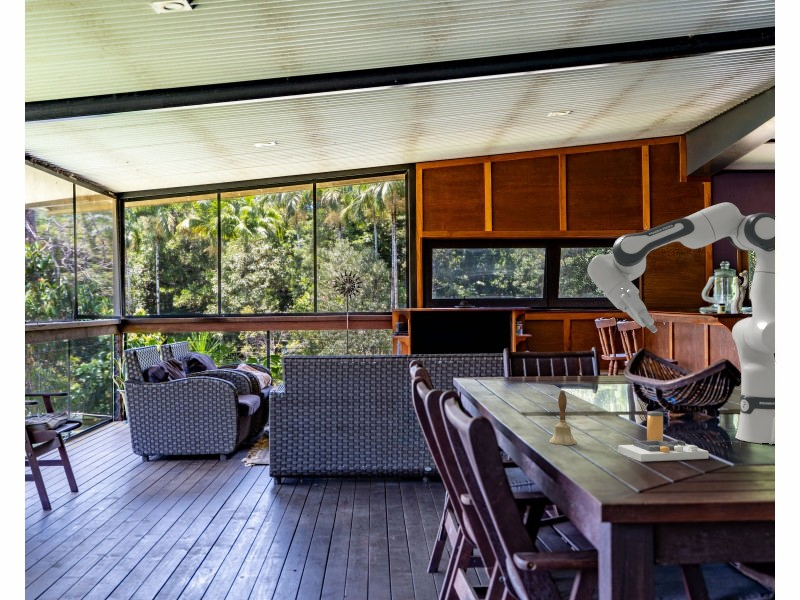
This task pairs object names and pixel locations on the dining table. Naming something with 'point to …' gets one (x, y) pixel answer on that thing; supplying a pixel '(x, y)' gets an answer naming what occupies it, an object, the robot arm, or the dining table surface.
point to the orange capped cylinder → (654, 426)
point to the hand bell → (562, 425)
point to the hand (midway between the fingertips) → (654, 327)
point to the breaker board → (662, 451)
